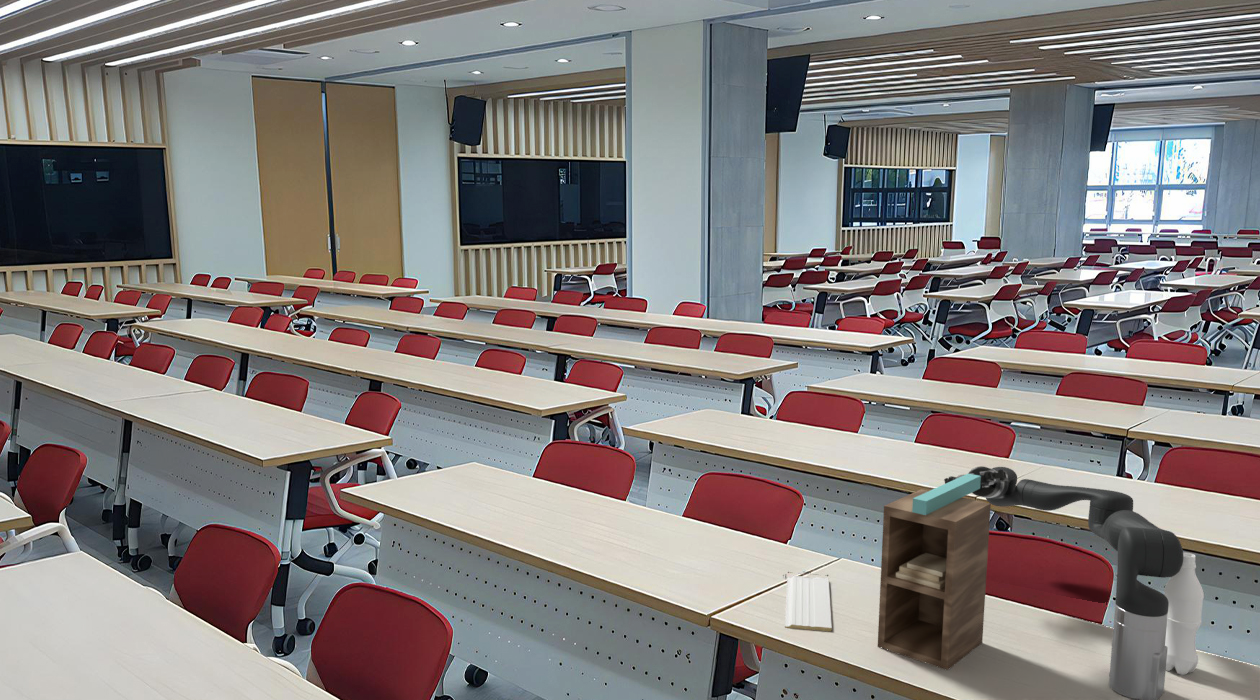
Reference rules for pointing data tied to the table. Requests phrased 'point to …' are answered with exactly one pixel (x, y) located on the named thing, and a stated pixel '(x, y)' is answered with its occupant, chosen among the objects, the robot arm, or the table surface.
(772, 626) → the table surface
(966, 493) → the rectangular block
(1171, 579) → the water bottle
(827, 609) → the baseboard molding
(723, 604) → the table surface
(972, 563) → the rack
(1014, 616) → the table surface
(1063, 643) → the table surface
